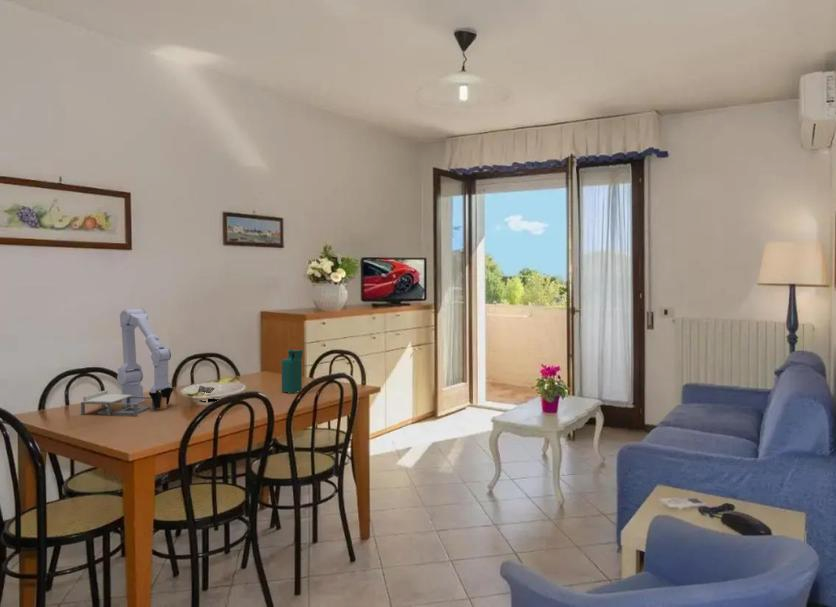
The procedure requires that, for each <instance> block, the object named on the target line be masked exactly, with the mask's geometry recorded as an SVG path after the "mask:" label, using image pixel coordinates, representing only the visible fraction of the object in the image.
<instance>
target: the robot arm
mask: <svg viewBox="0 0 836 607" xmlns="http://www.w3.org/2000/svg"><path fill="white" fill-rule="evenodd" d="M148 316H149V315H148V312H147V310H146V309H145V308H134V309H133V308H132V309H123V310H121V312H120V313H119V322H120V328H121V341H122V342H121V343H122V356H123V364H121V366H119V367H118V369H117V376H116V379H117V382H118V384H119V385H120V386H121V394H122V395H133V396H132V397H144V387H143V385H142V384H141V382H142V381H143V378H144V373H143V370H142V366H141V365H140V364H139V363H137V352H136V350H137V349H136V334H135V330H136V328H137V327H138V328H139V330H140V331H141V333H142V334H143V335H144V337H145V344H146V346H147V347H148V349H149V350H150V352H151V354H150V358H151V361H152V365H153V367H154V370H153V375H154V376H153V378H154V380H153V382H154V385H153V386H152V387H151V388H150V391H148V395H149V397H151V398H152V399H151V401H152V400H153V404H154V407H155V408H160V404H161V397H166V405H169V403H170V400H171V396H172V393H173V391H174V388H173V387H172V385H173V384H172V382H169V361H170V360H171V357H172V351H171V349H170V348H168V347H166V346H165V345H164V344H163V342H162V340H161V339H160V337H159V336H158V335H157V334H154V332H153V330H152V327H151V326H150V323H149V321H148V318H149V317H148ZM121 401H122V403H127V398H125V399H122V400H121ZM145 401H146V399H144V398H130V404H141V403H143V402H145Z"/></svg>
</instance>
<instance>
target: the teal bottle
mask: <svg viewBox="0 0 836 607" xmlns="http://www.w3.org/2000/svg"><path fill="white" fill-rule="evenodd" d="M286 352H288V353H287V356H288V357H287V358H284V359H282V360H281V392H282V391H283V392H282V393H284V392H289V393H293V392H297V391H300V390H301V389H302V388H303V386H302V385H303V373H302V372H303V366H302V365H303V363H302V362H303V361H302V359H303V353H304V352H303V349H298V350H297V349H287V350H286ZM302 390H303V389H302ZM289 393H288V394H289ZM293 394H294V393H293Z"/></svg>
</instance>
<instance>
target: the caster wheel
mask: <svg viewBox="0 0 836 607" xmlns="http://www.w3.org/2000/svg"><path fill="white" fill-rule="evenodd" d="M214 389H216V388H215V387H212V386H204V385H199V387H198V391H197V393H198V392H204V393H205V392H206V393H211V392H212V391H213V390H214Z"/></svg>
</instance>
